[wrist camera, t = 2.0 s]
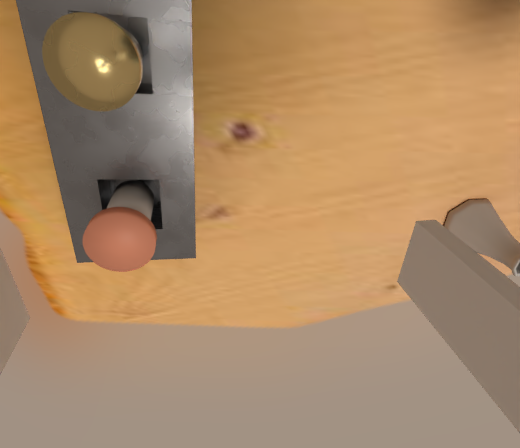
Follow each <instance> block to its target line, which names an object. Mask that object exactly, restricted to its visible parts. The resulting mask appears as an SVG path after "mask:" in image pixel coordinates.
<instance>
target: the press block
mask: <svg viewBox="0 0 520 448" xmlns="http://www.w3.org/2000/svg"><path fill="white" fill-rule="evenodd" d="M16 3H17V7H18V11H19V16H20V20H21V24H22V29H23V33H24V37H25V41H26V46H27V50H28V54H29V59H30V63H31V67H32V71H33V76H34V80H35V84H36V88H37V93H38V97H39V101H40V106H41V110H42V114H43V118H44V123H45V127H46V131H47V135H48V140H49V144H50V148H51V153H52V157H53V161H54V165H55V170H56V174H57V178H58V183H59V187H60V191H61V195H62V200H63V204H64V208H65V212H66V217H67V221H68V225H69V230H70V234H71V238H72V242H73V247H74V251H75V255H76V260H77V263H83V262H93V261H92V260H91V259H90V258H89V257H88V255H87V254H86V252H85V250H84V247H83V235H84V232H85V230H86V228H87V226H88V224H89V222H90V220H91V219H92V218H93V216H94V215H96V214H97V213H98V212H100V211H102V210H104V209H107V206H108V204H109V202H110V199H111V197H112V195H113V192H114V190H115V188H116V187H117V186H118V185H119V184H120V183H122V182H124V181H128V180H136V181H140V182H142V183H144V184H146V185H147V186H148V187H149V188H150V189H151V190H152V192H153V194H154V205H153V211H152V216H151V222H152V223H153V225H154V227H155V230H156V234H157V240H156V247H155V252H154V255H153V256H152V258H151V259H150V260H158V259H183V258H196V244H195V182H194V120H193V58H192V0H16ZM76 12H86V13H95V14H99V15H102V16H105V17H107V18H110V19H111V20H113V21H115V22H116V23H118V24H119V25H120V26H121V27H122V28H124V29H125V30H127V31H128V32H130V33H131V34H132V35H133V36H134V37H135V38H136V40H137V41H138V43H139V45H140V47H141V50H142V55H143V61H142V66H143V73H142V80H141V83H140V86H139V88H138V90H137V92H136V93H135V94H134V96H133V97H132V98H131V99H130V101H128V102H127V103H126V104H125V105H123V106H122V107H120V108H117V109H114V110H111V111H93V110H88V109H85V108H82V107H80V106H78V105H76V104H74V103H73V102H71V101H70V100H68V99H67V98H66V97H64V96H63V95H62V94H61V93H60V92H59V91H58V90H57V88H56V87H55V86H54V84H53V83H52V82H51V80H50V78H49V76H48V74H47V72H46V69H45V66H44V63H43V57H42V46H43V40H44V37H45V34H46V32H47V30H48V29H49V27H50V26H51V25H52V24H53V23H54V22H55V21H56V20H57V19H59V18H60V17H62V16H64V15H67V14H70V13H76Z"/></svg>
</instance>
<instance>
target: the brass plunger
mask: <svg viewBox="0 0 520 448" xmlns="http://www.w3.org/2000/svg"><path fill="white" fill-rule="evenodd" d="M42 57H43V63H44V66H45V69H46V72H47V74H48V76H49V78H50V80H51V82H52V83H53V84H54V86H55V87H56V88H57V90H58V91H59V92H60V93H61V94H62V95H63V96H64V97H66V98H67V99H68V100H70V101H71V102H73V103H74V104H76V105H78V106H80V107H82V108H85V109H88V110H93V111H111V110H114V109H117V108H120V107H122V106H123V105H125V104H126V103H127V102H128V101H130V99H131V98H132V97H133V96H134V94H135V93H136V92H137V90H138V88H139V86H140V83H141V80H142V73H143V66H142V61H143V55H142V50H141V47H140V45H139V43H138V41H137V40H136V38H135V37H134V36H133V35H132V34H131V33H130V32H128V31H127V30H125V29H124V28H122V27H121V26H120V25H119V24H118V23H116V22H115V21H113V20H111V19H110V18H107V17H105V16H102V15H99V14H95V13H86V12H76V13H70V14H67V15H64V16H62V17H60V18H59V19H57V20H56V21H55V22H54V23H53V24H52V25H51V26H50V27H49V29H48V30H47V32H46V34H45V37H44V40H43V46H42Z"/></svg>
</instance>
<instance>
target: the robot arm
mask: <svg viewBox="0 0 520 448" xmlns="http://www.w3.org/2000/svg"><path fill="white" fill-rule="evenodd" d="M397 282H398V283H399V284H400V286H401V287H402V288H403V289H404V291H405V292H406V293H407V294H408V296H409V297H410V298H411V299H412V301H413V302H414V303H415V304H416V305H417V307H418V308H419V309H420V310H421V312H422V313H423V314H424V315H425V317H426V318H427V319H428V320H429V322H430V323H431V324H432V325H433V326H434V328H435V329H436V330H437V331H438V332H439V334H440V335H441V336H442V338H443V339H444V340H445V341H446V342H447V344H448V345H449V346H450V347H451V349H452V350H453V351H454V352H455V353H456V355H457V356H458V357H459V359H460V360H461V361H462V362H463V364H464V365H465V366H466V367H467V368H468V370H469V371H470V372H471V373H472V375H473V376H474V377H475V378H476V380H477V381H478V382H479V383H480V384H481V386H482V387H483V388H484V389H485V391H486V392H487V393H488V394H489V396H490V397H491V398H492V399H493V401H494V402H495V403H496V404H497V405H498V407H499V408H500V409H501V410H502V412H503V413H504V414H505V415H506V417H507V418H508V419H509V420H510V422H511V423H512V424H513V425H514V427H515V428H516V429H517V430H518V431H519V433H520V287H519V286H518V285H517V284H515V283H514V282H513V281H512V280H510V279H509V278H508V277H507V276H505V275H504V274H503V273H502V272H500V271H499V270H498V269H497V268H495V267H494V266H493V265H492V264H490V263H489V262H488V261H487V260H485V259H484V258H483V257H482V256H480V255H479V254H478V253H477V252H475V251H474V250H473V249H471V248H470V247H469V246H468V245H466V244H465V243H464V242H463V241H461V240H460V239H459V238H458V237H456V236H455V235H454V234H453V233H451V232H450V231H449V230H448V229H446V228H445V227H444V226H443V225H441V224H440V223H439V222H438V221H436V220H426V221H416V224H415V227H414V230H413V233H412V236H411V240H410V243H409V246H408V249H407V252H406V255H405V259H404V262H403V265H402V268H401V271H400V274H399V278H398V281H397ZM29 319H30V316H29V314H28V311H27V309H26V307H25V304H24V302H23V300H22V297H21V295H20V292H19V290H18V288H17V285H16V283H15V281H14V278H13V276H12V274H11V271H10V269H9V266H8V264H7V262H6V259H5V257H4V255H3V252H2V250H1V248H0V374H1V373H2V371H3V369H4V367H5V365H6V363H7V361H8V359H9V357H10V356H11V354H12V352H13V350H14V348H15V346H16V344H17V342H18V340H19V338H20V336H21V335H22V333H23V331H24V329H25V327H26V325H27V323H28V321H29Z"/></svg>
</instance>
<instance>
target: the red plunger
mask: <svg viewBox="0 0 520 448" xmlns="http://www.w3.org/2000/svg"><path fill="white" fill-rule="evenodd" d="M153 205H154V194H153V192H152V190H151V189H150V188H149V187H148V186H147V185H146V184H144V183H142V182H140V181H136V180H128V181H124V182H122V183H120V184H119V185H118V186H117V187H116V188H115V190H114V192H113V195H112V197H111V199H110V202H109V204H108V206H107V209H104V210H102V211H100V212H98V213H97V214H96V215H94V216H93V218H92V219H91V220H90V222H89V224H88V226H87V228H86V230H85V232H84V235H83V247H84V250H85V252H86V254H87V255H88V257H89V258H90V259H91V260H92V261H93V262H94V263H96V264H97V265H99V266H101V267H103V268H105V269H108V270H112V271H119V272H125V271H132V270H135V269H138V268H140V267H142V266H144V265H145V264H147V263H148V262H149V261H150V259H151V258H152V256H153V255H154V252H155V247H156V240H157V234H156V230H155V227H154V225H153V223H152V222H151V216H152V211H153Z"/></svg>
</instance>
